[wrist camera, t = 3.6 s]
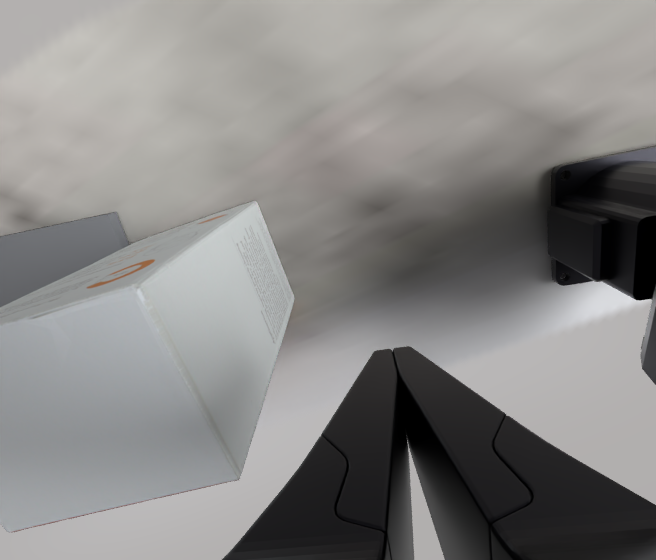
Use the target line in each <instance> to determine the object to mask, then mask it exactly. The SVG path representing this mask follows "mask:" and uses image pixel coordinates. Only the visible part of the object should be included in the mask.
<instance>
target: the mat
mask: <svg viewBox="0 0 656 560" xmlns="http://www.w3.org/2000/svg"><path fill="white" fill-rule="evenodd" d="M127 246H129V243H128V240H127V238H126V235H125V233H124V230H123V228H122V225H121V222H120V220H119V217H118V215H117V212H113V213H108V214H104V215H99V216H94V217H90V218H85V219H80V220H76V221H71V222H66V223H61V224H57V225H52V226H47V227H43V228H38V229H33V230H29V231H24V232H19V233H15V234H10V235H5V236H0V307H2V306H4V305H6V304H9V303H11V302H13V301H15V300H17V299H19V298H21V297H23V296H25V295H27V294H30V293H32V292H34V291H36V290H38V289H40V288H42V287H44V286H47V285H49V284H51V283H53V282H55V281H57V280H60V279H62V278H64V277H66V276H68V275H70V274H72V273H74V272H76V271H79V270H81V269H83V268H85V267H87V266H89V265H91V264H93V263H95V262H97V261H99V260H101V259H103V258H105V257H107V256H109V255H111V254H113V253H115V252H117V251H119V250H121V249H123V248H125V247H127Z"/></svg>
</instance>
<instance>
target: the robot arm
mask: <svg viewBox="0 0 656 560" xmlns="http://www.w3.org/2000/svg"><path fill="white" fill-rule="evenodd" d="M563 171H566V173H567V174H566V177H565V178H564V179H561V177H560V175H561V173H562V172H563ZM548 254H549V255H550V256H551V257H552V278H553V280H554V281H555V282H556V283H558V284H559V285H563V286H565V285H571V284H578V283H584V282H590V281H595V282H600V281H602V282H604V283H606V284H608V285H610V286H612V287H613V288H615V289H617V290H619V291H621V292H623V293H624V294H626V295H628V296H630V297H632V298H634V299H635V300H645V299H651V300H652V304H651V309H650V314H649V318H648V323H647V327H646V333H645V337H643V341H642V346H641V349H642V351H641V363H642V369H643V370H644V371H645V372H646V374H647V375H648V376H649V377H650V379H651V380H652V381H653V382H654V383H655V384H656V146H652V147H647V148H642V149H637V150H632V151H627V152H622V153H617V154H612V155H607V156H602V157H597V158H592V159H587V160H582V161H577V162H572V163H567V164H562V165H559V166H557V167H556V168H555V169H554V170H553V172H552V175H551V207H550V209H549V210H548ZM563 273H566V276H565V277H564V278H563V279H561V278H560V277H561V275H562V274H563ZM406 435H407V436H406ZM407 440H408V443H407ZM408 444H409V448H410V452H411V455H412V458H413V462H414V465H415V468H416V471H417V474H418V477H419V480H420V483H421V486H422V490H423V493H424V496H425V499H426V502H427V505H428V508H429V511H430V514H431V518H432V520H433V524H434V527H435V530H436V533H437V536H438V539H439V542H440V545H441V548H442V552H443V555H444V558H445V560H656V505H655V504H653V503H651V502H649V501H648V500H646V499H644V498H642V497H641V496H639V495H637V494H635V493H634V492H632V491H630V490H629V489H627V488H625V487H623V486H621V485H620V484H618V483H616V482H615V481H613V480H611V479H609V478H608V477H606V476H604V475H602V474H600V473H599V472H597V471H595V470H593V469H592V468H590V467H588V466H587V465H585V464H583V463H582V462H580V461H578V460H576V459H575V458H573V457H571V456H569V455H568V454H566V453H565V452H563V451H561V450H560V449H558V448H556V447H554V446H553V445H551V444H550V443H548V442H546V441H545V440H543V439H542V438H540V437H539V436H537V435H536V434H534V433H533V432H531V431H530V430H528V429H527V428H525V427H524V426H522V425H521V424H520V423H518V422H517V421H515V420H514V419H513V418H511V417H510V416H506V414H505V413H504V412H502V411H501V410H500V409H498V408H497V407H495V406H494V405H492V404H491V403H490V402H488V401H487V400H485V399H484V398H483V397H481V396H480V395H478V394H477V393H475V392H474V391H473V390H471V389H470V388H468V387H467V386H465V385H464V384H463V383H461V382H460V381H458V380H457V379H456V378H454V377H453V376H451V375H450V374H449V373H447V372H446V371H444V370H443V369H441V368H440V367H439V366H437V365H436V364H434V363H433V362H432V361H430V360H429V359H427V358H426V357H424V356H423V355H422V354H420V353H419V352H417V351H416V350H414V349H413V348H412V347H409V346H407V347H400V348H394V349H393V352H392V350H391V349H385V350H377V351H374V352H373V354H372V356H371V357H370V359H369V360H368V362H367V363H366V365H365V367H364V368H363V370H362V371H361V373H360V374H359V376H358V378H357V379H356V381H355V382H354V384H353V385H352V387H351V389H350V390H349V392H348V393H347V395H346V396H345V398H344V400H343V401H342V403H341V404H340V406H339V407H338V409H337V411H336V412H335V414H334V415H333V417H332V419H331V420H330V422H329V423H328V425H327V426H326V428H325V430H324V431H323V433H322V434H321V437H319V439H318V440H317V442H316V443H315V445H314V446H313V448H312V450H311V451H310V452H309V454H308V455H307V457H306V458H305V460H304V461H303V463H302V464H301V466H300V467H299V468H298V470H297V471H296V472H295V473H294V475H293V476H292V477H291V479H290V480H289V481H288V483H287V484H286V485H285V486H284V488H283V489H282V490H281V491H280V492H279V494H278V495H277V496H276V497H275V498H274V500H273V501H272V502H271V503H270V505H269V506H268V507H267V508H266V509H265V511H264V512H263V513H262V514H261V515H260V517H259V518H258V519H257V520H256V521H255V523H254V524H253V525H252V526H251V527H250V529H249V530H248V531H247V532H246V534H245V535H244V536H243V537H242V538H241V540H240V541H239V542H238V543H237V544H236V545H235V547H234V548H233V549H232V550H231V551H230V552H229V553H228V554H227V555H226V556H225V557H224V558H223V559H222V560H414V549H413V527H412V508H411V488H410V469H409V452H408Z"/></svg>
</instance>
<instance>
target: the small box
mask: <svg viewBox="0 0 656 560" xmlns="http://www.w3.org/2000/svg"><path fill="white" fill-rule="evenodd" d="M294 300H295V297H294V294H293V292H292V290H291V287H290V285H289V282H288V279H287V277H286V274H285V272H284V269H283V267H282V264H281V262H280V259H279V257H278V254H277V252H276V249H275V247H274V244H273V241H272V239H271V236H270V234H269V231H268V229H267V226H266V223H265V221H264V218H263V216H262V213H261V211H260V208H259V206H258V203H257V202H256V201H252V202H249V203H246V204H242V205H239V206H236V207H233V208H231V209H228V210H225V211H222V212H219V213H216V214H213V215H210V216H207V217H204V218H202V219H199V220H196V221H193V222H190V223H187V224H185V225H182V226H179V227H176V228H173V229H170V230H167V231H165V232H162V233H159V234H156V235H153V236H151V237H148V238H145V239H142V240H140V241H137V242H135V243H133V244H131V245H129V246H127V247H125V248H123V249H121V250H119V251H117V252H115V253H113V254H111V255H109V256H107V257H105V258H103V259H101V260H99V261H97V262H95V263H93V264H91V265H89V266H87V267H85V268H83V269H81V270H79V271H76V272H74V273H72V274H70V275H68V276H66V277H64V278H62V279H60V280H57V281H55V282H53V283H51V284H49V285H47V286H44V287H42V288H40V289H38V290H36V291H34V292H32V293H30V294H27V295H25V296H23V297H21V298H19V299H17V300H15V301H13V302H11V303H9V304H6V305H4V306H2V307H0V524H1V525H2V526H3V527H4V529H5V530H6V531H8V532H16V531H20V530H24V529H28V528H32V527H36V526H41V525H45V524H50V523H54V522H58V521H62V520H66V519H70V518H75V517H80V516H84V515H88V514H92V513H96V512H101V511H105V510H109V509H114V508H118V507H122V506H127V505H131V504H135V503H139V502H143V501H147V500H151V499H156V498H161V497H166V496H170V495H174V494H179V493H183V492H187V491H192V490H196V489H200V488H205V487H209V486H213V485H217V484H222V483H227V482H231V481H237V480H239V479H240V476H241V473H242V470H243V467H244V464H245V460H246V457H247V454H248V450H249V447H250V444H251V441H252V438H253V434H254V431H255V428H256V425H257V422H258V418H259V415H260V412H261V409H262V405H263V402H264V398H265V395H266V392H267V388H268V385H269V382H270V379H271V376H272V373H273V369H274V366H275V363H276V359H277V356H278V353H279V350H280V347H281V344H282V340H283V337H284V334H285V331H286V327H287V324H288V320H289V317H290V314H291V311H292V307H293V304H294Z"/></svg>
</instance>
